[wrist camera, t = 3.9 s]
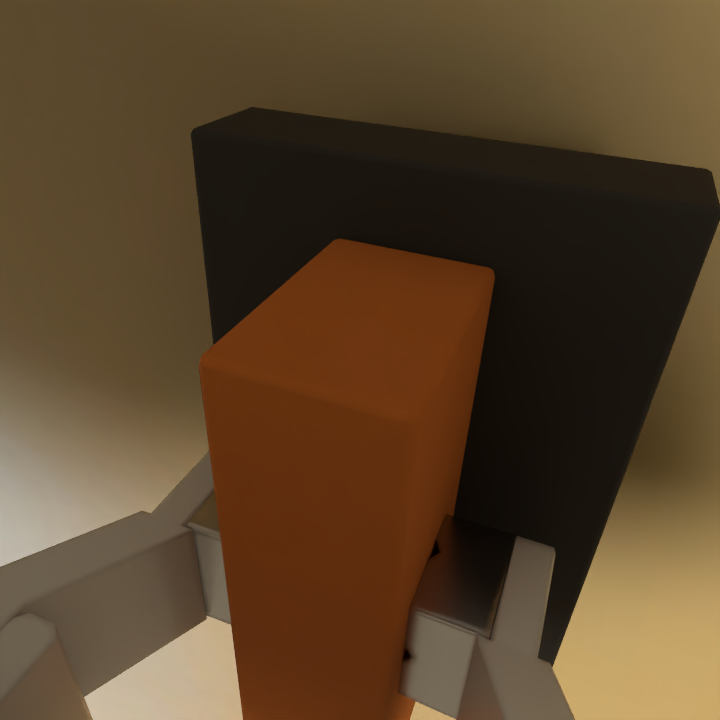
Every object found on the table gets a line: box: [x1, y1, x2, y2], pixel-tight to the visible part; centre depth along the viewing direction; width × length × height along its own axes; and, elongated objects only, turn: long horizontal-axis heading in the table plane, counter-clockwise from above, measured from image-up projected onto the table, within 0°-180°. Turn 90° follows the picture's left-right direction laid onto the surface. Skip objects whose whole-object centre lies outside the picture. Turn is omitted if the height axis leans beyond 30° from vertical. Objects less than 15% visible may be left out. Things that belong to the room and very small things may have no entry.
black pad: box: [191, 107, 720, 720], centre depth 9 cm, size 10×6×4 cm, turn 177°
